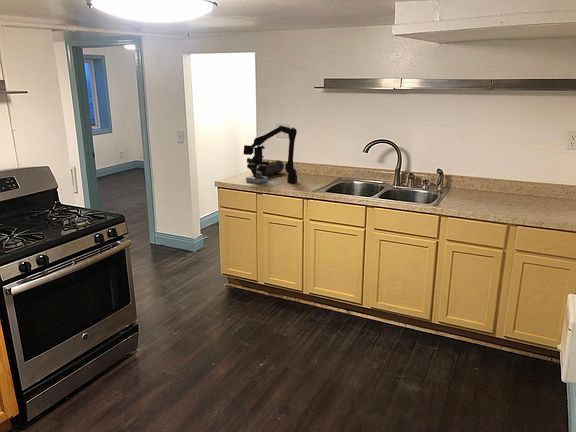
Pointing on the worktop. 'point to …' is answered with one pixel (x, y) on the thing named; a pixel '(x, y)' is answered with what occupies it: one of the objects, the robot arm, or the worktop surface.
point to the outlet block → (256, 180)
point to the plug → (258, 174)
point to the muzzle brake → (273, 168)
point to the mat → (271, 183)
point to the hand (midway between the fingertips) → (258, 176)
